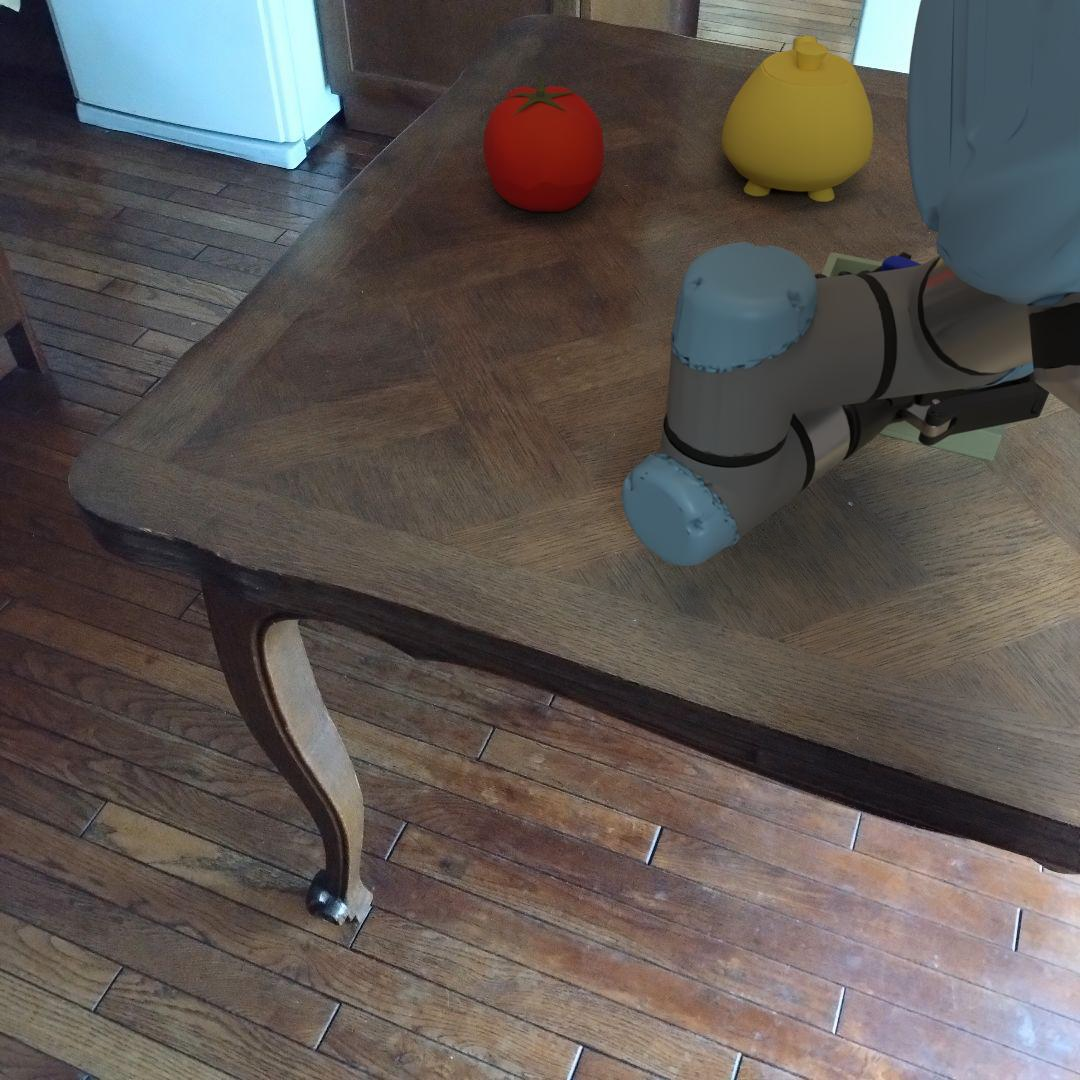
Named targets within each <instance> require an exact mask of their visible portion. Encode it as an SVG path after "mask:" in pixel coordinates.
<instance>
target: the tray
mask: <svg viewBox="0 0 1080 1080" xmlns="http://www.w3.org/2000/svg"><path fill="white" fill-rule="evenodd" d="M882 263H883V261H880V260H879V261H878V260H874V259H870V258H869V259H868V258H864V257H858V256H854V255H849V254H844V253H840V252H839V253H837V252H833V251H830V252H829V255H828V257H827V259H826V262H825V264H824V266H823V269H822V271H821V273H820V274H823V275H826V276H827V277H834V276H838V273H839V272H842V271H847V272H851V273H852V274H853V275H855V274H858V273H859V272H861V271H865V270H869V271H871V272H872V271H874V270H875V269H877V268H879V267H880V266H882ZM1005 425H1006V424H1003V425H999V426H994V427H989V428H984V429H979V430H974V431H969V432H964V433H959V434H954V435H950V436H948V437H946V438H945V439H943V440H941V441H939V442H938V443H936V444H934V445H930V446H929V447H932V448H935V449H941V450H944V451H949V452H953V453H956V454H961V455H965V456H970V457H973V458H978V459H982V460H986V461H991V462H993V461H994V459H995V456H996V454H997V451H998V449H999V446H1000V444H1001V441H1002V439H1003V437H1004V431H1005ZM878 435H882V436H887V437H891V438H895V439H899V440H902V441H907V442H912V443H916V444H919V445H924V444H922V443H921V442H919V440H918V438H919V435H920V430H919V429H917V428H916V427H914V426H912V425H911V424H909V423H908V422H906V421H902V422H898V423H892V424H889V425H887V426H886V427H885V428H884V429H883V430H882V431H881V432H880V433H879V434H878ZM924 446H925V445H924Z"/></svg>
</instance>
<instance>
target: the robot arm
mask: <svg viewBox="0 0 1080 1080" xmlns="http://www.w3.org/2000/svg"><path fill="white" fill-rule="evenodd" d="M914 25H915V26H914V32H913V38H912V45H911V51H910V59H909V69H908V80H907V81H908V82H907V94H906V96H907V97H906V121H905V122H906V123H905V124H906V127H905V128H906V146H907V147H906V148H907V156H908V166H909V167H908V168H909V173H910V180H911V187H912V191H913V196H914V200H915V203H916V206H917V209H918V212H919V215H920V219H921V221H922V222H923V223H924V225H925V226H926V229H929V230H931V232H935V233H937V236H936V241H935V243H936V244H935V245H936V253H937V256H935V257H934V258H932V259H930V260H929V261H926V262H925V263H920V264H921V265H918V266H914V267H908V268H902V269H895V270H889V271H881V270H882V266H880V267H879V268H877V269H875V270H874V271H872V272H871V271H869V270H865V271H861V272H859V273H858V274H855V275H853V274H852V273H851V272H847V271H842V272H839V273H838V276H834V277H827V276H826V275H823V274H821V273H814V271H813V269H812V268H811V266H810V265H809V264H808V263H807V262H806V261H805V260H804V259H803V258H801V257H800V256H799V255H797V254H796V253H794V252H792V251H790V250H789V249H786V248H783V247H781V246H777V245H772V244H767V245H764V246H759V245H755V244H752V243H751V242H748V241H741V242H732V243H726V244H722V245H719V246H715V247H713V248H710V249H708V250H706V251H705V252H703V253H701V254H699V256H697V257H696V258H695V259H694V260H693V261H692V262H691V264H690V265H689V266H688V267H687V268H686V269H685V272H684V274H683V276H682V279H681V284H680V289H679V292H678V294H677V295H678V296H677V300H676V306H675V311H674V312H675V313H674V320H673V323H672V325H671V332H670V339H669V342H670V358H669V359H670V360H669V374H668V384H667V385H668V386H667V387H668V388H667V398H666V399H667V401H666V411H665V415H664V416H663V420H662V429H661V443H660V446H659V447H658V449H657V450H656V451H655V452H652V453H648V454H647V455H646V456H645V457H643V458H642V461H640V462H639V463H638V464H637V465H636V466H634V467H633V468H632V469H631V470H630V471H629V472H628V473H627V474H626V477H625V478H624V480H623V483H622V486H621V503H622V504H621V505H622V508H623V512H624V515H625V517H626V520H627V522H628V524H629V526H630V528H631V530H632V532H633V533H634V535H635V536H636V537H637V539H638V540H639V541H640V543H642V545H643V546H644V547H645V548H647V550H648V551H649V552H652V553H654V554H655V555H656V556H658V557H659V558H660V559H661V560H662V561H663V562H666V563H668V564H670V565H673V566H677V567H683V568H685V567H686V568H687V567H694V566H698V565H700V564H703V563H704V562H706V561H707V560H709V559H710V558H712V557H713V556H715V555H716V554H718V553H720V552H721V551H723V550H724V549H725V548H730V547H733V546H734V545H736V544H737V543H739V541H740V539H742V538H743V537H744V536H746V535H747V534H748V533H750V532H751V531H752V530H754V529H755V528H756V527H757V526H758V525H760V524H761V523H762V522H764V521H766V519H768V518H769V517H770V516H772V515H774V513H775V512H777V511H778V510H779V509H781V508H782V507H783V506H785V505H786V504H787V503H789V502H790V501H791V500H793V499H794V498H795V497H797V495H798V494H799V493H801V492H802V491H804V490H805V489H807V488H808V487H810V486H811V485H812V484H814V483H815V482H816V481H818V480H819V479H821V478H822V477H823V476H825V475H826V474H828V473H829V472H830V471H831V470H833V469H834V468H835V467H838V465H839V464H841V463H842V462H843V461H846V460H847V459H848V458H850V457H851V456H853V455H854V454H855V453H856V452H858V451H860V450H861V449H862V448H864V447H865V446H866V445H867V444H869V443H870V442H871V441H873V440H874V439H875V438H876V437H878V436H879V435H880V434H879V433H880V432H881V431H882V430H883V429H884V428H885V427H886V426H887V425H889V424H892V423H898V422H902V421H906V422H908V423H909V424H911V425H912V426H914V427H916V428H917V429H919V430H920V435H919V438H918V440H919V442H921V443H922V444H921V445H923V444H924V446H928V447H931V446H930V445H934V444H936V443H938V442H939V441H941V440H943V439H945V438H946V437H948V436H950V435H954V434H959V433H964V432H969V431H974V430H979V429H984V428H989V427H994V426H999V425H1003V424H1005V425H1009V424H1013V423H1017V422H1022V421H1027V420H1032V419H1037V418H1039V417H1040V416H1041V414H1042V412H1043V410H1044V407H1045V405H1046V402H1047V400H1048V398H1049V395H1050V394H1051V395H1052V396H1053V397H1055V398H1056V399H1058V400H1059V401H1061V402H1062V403H1063V404H1064V405H1065V406H1067V407H1068V408H1069V409H1071V410H1072V411H1074V412H1075V413H1077V414H1078V415H1079V416H1080V0H920V1H919V6H918V10H917V15H916V21H915V24H914ZM897 256H900V257H904V258H907V259H910V260H912V254H909V253H907V252H905V251H902V253H900V254H898V255H897Z"/></svg>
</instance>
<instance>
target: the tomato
mask: <svg viewBox="0 0 1080 1080" xmlns="http://www.w3.org/2000/svg"><path fill="white" fill-rule="evenodd" d="M585 89H586V88H580V89H576V90H571V89H570V88H567V87H564V86H557V85H556V86H555V85H550V86H546V87H545V81H544V75H543V74H541V75H540V77H539V82H538V87H537V88H534V87H529V86H525V85H521V86H519V87H517V88H515V89H512V90H510V91H508V92H507V94H506V95H505V97H504V98H503V97H502V98H501V97H500V100H501V99H502V100H503V101H501V102H500V103H498V104H497V106H496V107H495V108H494V109H492V110H491V111H490V114H489V116H488V120H487V123H486V124H485V128H484V131H483V149H482V150H483V157H484V162H485V166H486V170H487V173H488V176H489V179H490V181H491V184H492V187H493V189H494V190H495V191H496V193H497V195H498V196H500V197H501V198H502V199H504V200H505V201H506V202H507V203H509V204H510V205H511V206H512V207H515V208H517V209H518V208H519V209H522V210H525V211H529V212H543V213H544V212H546V213H548V212H550V213H551V212H554V213H557V212H558V213H562V212H564V211H568V210H570V209H573V208H575V207H576V206H577V205H578V204H580V203H581V202H582V201H583V200H584V199H585V198H586V197H587V196H588V195H589V194H590V193H591V192H592V191H593V189H594V187H595V186H596V184H597V183H598V181H599V179H600V177H601V175H602V172H603V164H604V157H605V155H604V153H605V145H604V137H603V135H604V134H603V129H602V125H601V122H600V119H599V118H598V116H597V114H596V113H595V111H594V110H593V109H592V108H591V106H590V105H589V104H588V103H587V102H586V100H585V99H584V98H583V97H582V96H580V95H579V94H577V92H580V91H582V90H585Z"/></svg>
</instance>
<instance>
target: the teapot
mask: <svg viewBox="0 0 1080 1080" xmlns="http://www.w3.org/2000/svg"><path fill="white" fill-rule="evenodd" d="M828 50H829V49H828V47H827V46H826V45H824V44H822V43H819V42H818V39H817V38H816V37H814V36H810V35H803V36H797V37H794V39H793V42H792V49H789V50H783V51H778V52H776V53H773V54H771V55H769V56H767V57H766V58H765V59H764V60H763V61H762V62H761V63H760V64H759V65H758V66H757V67H756V68H755V69H754V71H753V72H752V73H751V75H750V76H749V77H748V78H747V80H746V81H745V82H744V84H742V86H741V88H740V89H739V91H738V92H737V94H736V95H735V97H734V99H733V101H732V103H731V104H730V106H729V110H728V111H727V114H726V117H725V120H724V124H723V127H722V130H721V136H720V137H721V139H720V141H721V142H720V143H721V147H722V150H723V153H724V154H725V156H726V158H727V159H728V161H729V163H730V164H731V165H732V166H733V167H734V168H735V170H736V171H737V172H738V173H739V174H740V175H741V176H743V178H745V179H746V180H748V181H747V182H746V184H745V186H744V187H743V191H744V193H745V194H746V195H750V196H752V197H765V196H768V195H769V194H770V193H771V190H772V189H774V190H775V189H776V190H781V191H790V192H807V196H808V197H809V198H810V199H811V200H813V201H816V202H819V203H820V202H821V203H822V202H824V203H827V202H830V201H834V199H835V193H834V190H833V188H834V187H836V186H839V185H841V184H843V183H844V182H846V181H847V180H848V179H850V178H851V177H853V176H854V175H855V174H856V173H857V172H859V171H860V170H861V169H862V168H863V167H864V166H865V165H866V164H867V162H868V161H869V159H870V157H871V155H872V149H873V144H874V143H873V142H874V120H873V114H872V109H871V104H870V102H869V98H868V95H867V93H866V90H865V88H864V85H863V83H862V80H861V78H860V76H859V73H858V72H857V70H856V68H855V66H854V65H853V64H852V63H851V62H850V61H849V60H848V59H846V58H844V57H842V56H840V55H837V54H834V53H831V52H828Z"/></svg>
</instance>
